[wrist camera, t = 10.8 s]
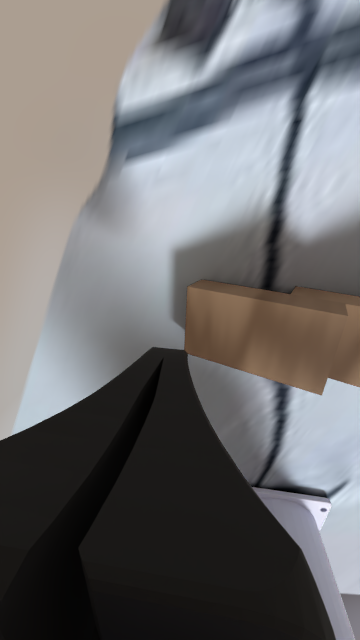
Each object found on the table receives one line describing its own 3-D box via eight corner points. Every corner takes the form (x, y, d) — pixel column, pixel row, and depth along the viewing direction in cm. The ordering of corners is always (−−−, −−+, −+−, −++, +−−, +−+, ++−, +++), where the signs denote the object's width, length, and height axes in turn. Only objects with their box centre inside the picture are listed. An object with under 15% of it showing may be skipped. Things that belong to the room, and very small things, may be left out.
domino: (197, 340, 16) (322, 375, 13) (184, 352, 15) (321, 395, 12) (201, 279, 14) (345, 303, 11) (187, 286, 13) (348, 316, 10)
